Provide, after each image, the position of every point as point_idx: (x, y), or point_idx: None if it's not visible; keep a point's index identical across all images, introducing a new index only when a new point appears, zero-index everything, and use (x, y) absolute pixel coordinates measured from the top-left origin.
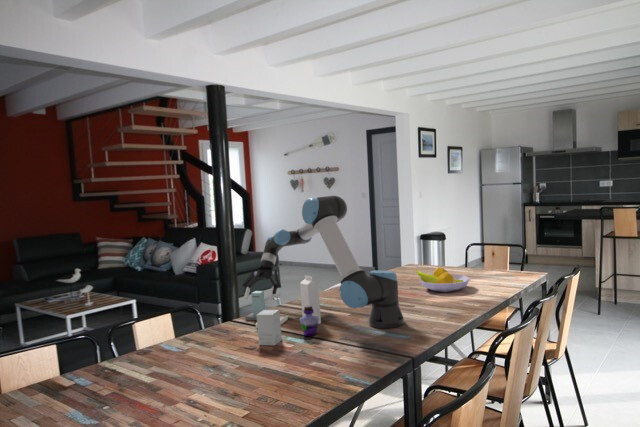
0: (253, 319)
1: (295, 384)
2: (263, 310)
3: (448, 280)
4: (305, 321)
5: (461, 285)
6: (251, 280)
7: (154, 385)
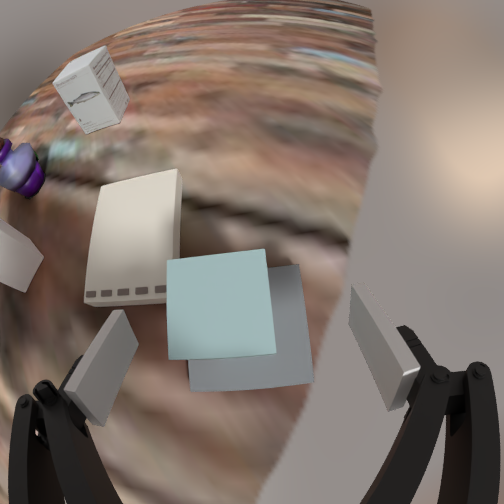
0: None
1: None
2: (89, 62)
3: None
4: (22, 143)
5: None
6: (423, 465)
7: (230, 14)
